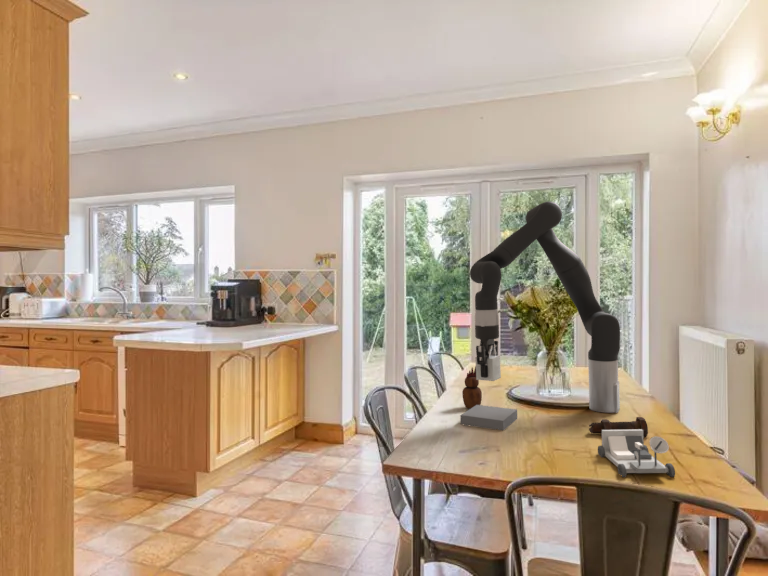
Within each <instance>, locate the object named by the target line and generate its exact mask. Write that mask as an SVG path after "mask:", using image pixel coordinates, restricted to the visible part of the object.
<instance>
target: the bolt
mask: <svg viewBox="0 0 768 576" xmlns="http://www.w3.org/2000/svg"><path fill="white" fill-rule="evenodd" d="M588 426H589V428H588V431H589V433H590V434H596V435H599V434H600V435H602V430H628V429H642V430H643V437H644V438H646V437H648V434H649V427H648V423H647V421H646V419H645V417H641V416H636V419H635V420H632V421H610V420H609V419H607V418H606V419H605V418H603V419H601V420H600V422H599V421H598V422H596V421H595V422H591V423H590V424H588Z"/></svg>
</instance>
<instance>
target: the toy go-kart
mask: <svg viewBox="0 0 768 576" xmlns="http://www.w3.org/2000/svg"><path fill="white" fill-rule="evenodd" d="M644 438H645V437H643V430H642V429H628V430H602V434H601V445H598V447H597V455H598V456H600V458H607V459H608V460H609V461H610V462H611V463H613V464H614V465H615V467H617V473H618V475H619V474H620V475H619V476H621V475H622V477H621V478H627V474H666V475H667V476H669V477H671V478H674V477H676V476H675V475H676V470H675V467H674V465H673V464H672V463H669V462H668V463H665V464H663V462H661V461H659V460H658V459H657V454H666V453H667V452H668V451H669V449H670V446H669V444H668V441H667V440H666V439H664V438H663V437H661V436H656V435H655V436H653V437H651V438H650V439H649V441H648V443H649V446H650V449H651V450H652V451H653V452H654V456H653V455H652V454H651V453H650V452H649V448H648V446H647V445H645V444H644Z"/></svg>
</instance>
